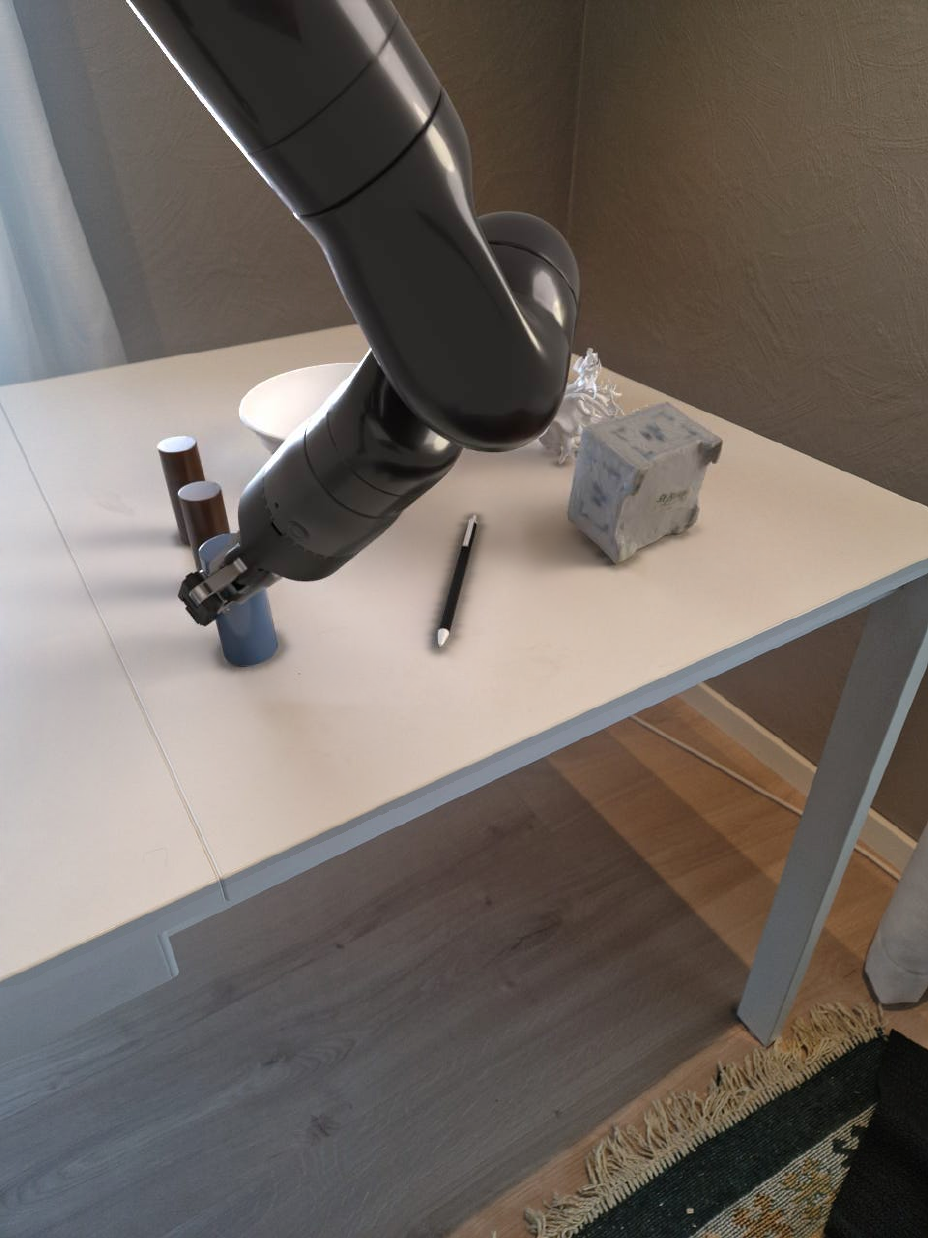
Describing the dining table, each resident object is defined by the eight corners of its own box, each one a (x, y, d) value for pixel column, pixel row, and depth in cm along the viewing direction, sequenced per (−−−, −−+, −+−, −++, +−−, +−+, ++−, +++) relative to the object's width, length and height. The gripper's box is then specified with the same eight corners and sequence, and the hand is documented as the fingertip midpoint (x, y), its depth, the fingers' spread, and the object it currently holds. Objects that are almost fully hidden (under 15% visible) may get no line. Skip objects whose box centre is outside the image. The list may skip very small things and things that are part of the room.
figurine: (499, 398, 94) (560, 308, 87) (610, 468, 97) (677, 386, 91) (491, 451, 84) (559, 353, 77) (616, 526, 87) (691, 439, 81)
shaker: (230, 672, 63) (205, 569, 57) (218, 641, 65) (193, 541, 60) (284, 656, 64) (264, 554, 58) (269, 627, 67) (249, 527, 61)
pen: (479, 521, 79) (479, 510, 79) (445, 652, 64) (445, 640, 64) (469, 520, 79) (469, 509, 79) (434, 651, 64) (433, 639, 64)
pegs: (206, 602, 70) (182, 504, 64) (177, 531, 78) (154, 440, 73) (245, 592, 71) (225, 495, 65) (212, 523, 79) (192, 432, 74)
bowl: (472, 434, 93) (472, 377, 89) (383, 522, 79) (378, 458, 75) (317, 405, 100) (310, 351, 96) (209, 481, 86) (195, 421, 82)
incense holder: (625, 572, 72) (638, 460, 66) (562, 529, 77) (569, 421, 71) (709, 537, 76) (729, 427, 70) (644, 498, 82) (657, 393, 75)
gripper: (365, 400, 54) (259, 514, 67) (191, 494, 45) (107, 605, 58) (436, 496, 55) (318, 591, 68) (280, 608, 46) (178, 692, 59)
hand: (222, 597), depth 63 cm, fingers closed on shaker, 4 cm apart
